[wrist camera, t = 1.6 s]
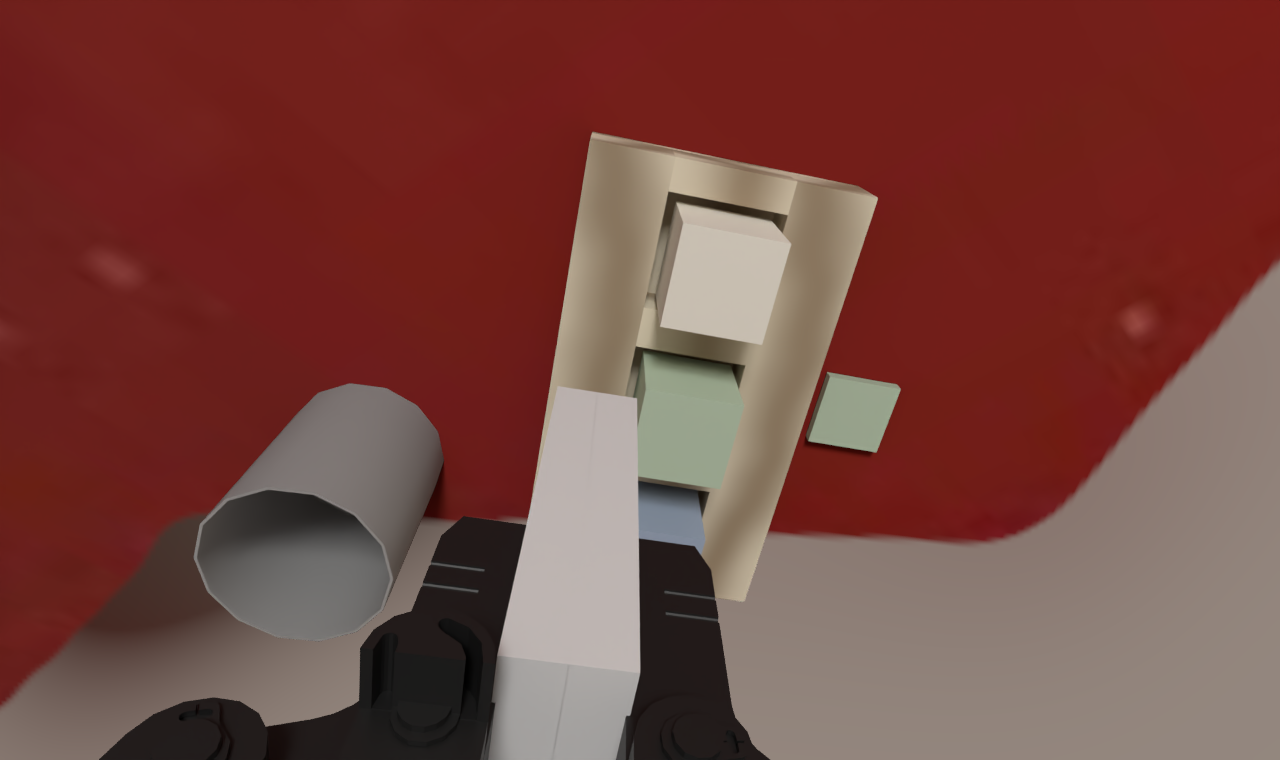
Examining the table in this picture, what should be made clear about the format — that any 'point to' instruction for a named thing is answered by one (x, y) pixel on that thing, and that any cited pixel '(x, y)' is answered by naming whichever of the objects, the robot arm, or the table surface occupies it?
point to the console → (765, 374)
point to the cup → (323, 516)
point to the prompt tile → (852, 412)
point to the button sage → (685, 419)
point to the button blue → (670, 515)
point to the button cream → (720, 273)
